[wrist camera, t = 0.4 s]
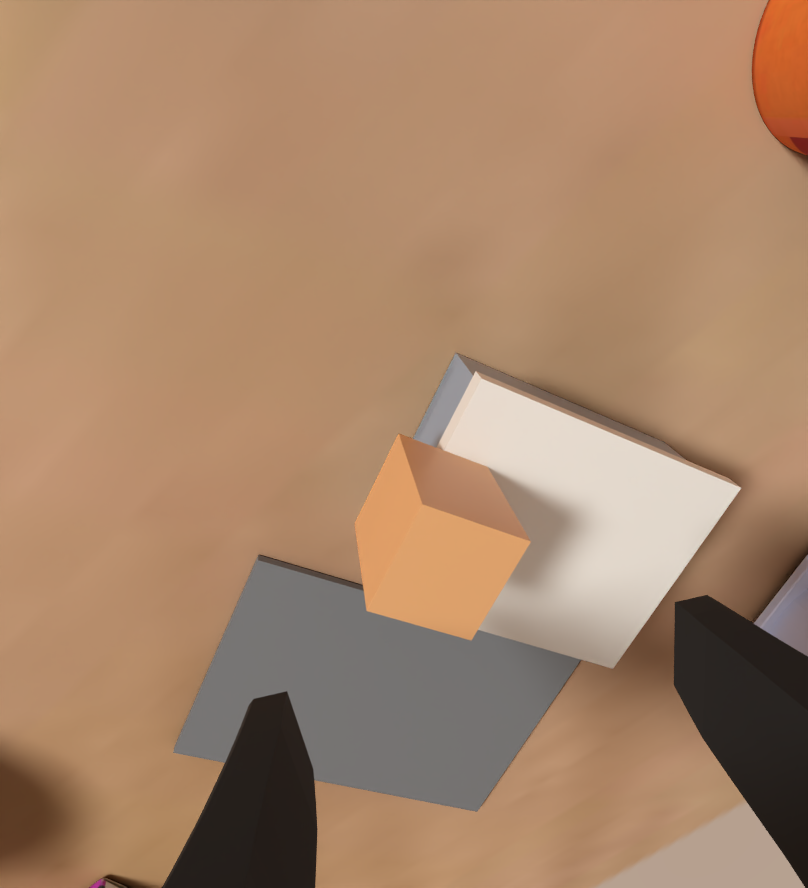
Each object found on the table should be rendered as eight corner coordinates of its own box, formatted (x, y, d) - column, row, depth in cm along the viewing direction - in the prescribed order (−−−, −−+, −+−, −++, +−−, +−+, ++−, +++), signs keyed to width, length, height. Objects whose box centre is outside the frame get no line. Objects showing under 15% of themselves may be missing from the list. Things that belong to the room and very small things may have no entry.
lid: (718, 470, 19) (834, 560, 15) (598, 644, 22) (670, 765, 17) (427, 346, 17) (469, 414, 12) (323, 562, 19) (329, 682, 15)
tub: (664, 441, 22) (715, 483, 19) (568, 589, 24) (602, 646, 21) (455, 352, 19) (480, 385, 17) (369, 525, 21) (379, 579, 19)
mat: (581, 650, 25) (583, 655, 25) (475, 805, 28) (477, 811, 28) (258, 554, 21) (257, 559, 21) (174, 745, 24) (173, 752, 24)
